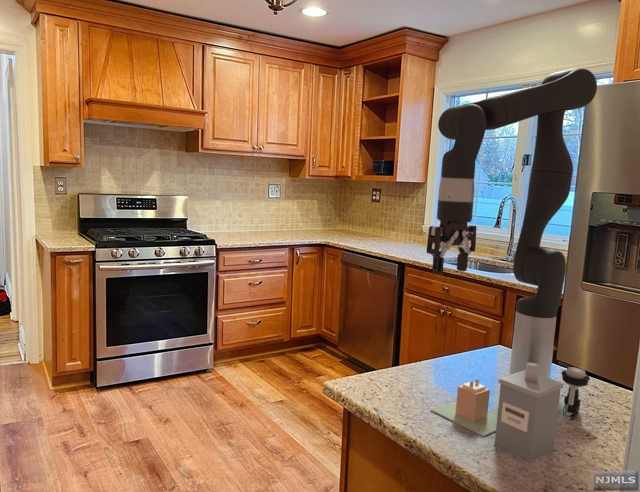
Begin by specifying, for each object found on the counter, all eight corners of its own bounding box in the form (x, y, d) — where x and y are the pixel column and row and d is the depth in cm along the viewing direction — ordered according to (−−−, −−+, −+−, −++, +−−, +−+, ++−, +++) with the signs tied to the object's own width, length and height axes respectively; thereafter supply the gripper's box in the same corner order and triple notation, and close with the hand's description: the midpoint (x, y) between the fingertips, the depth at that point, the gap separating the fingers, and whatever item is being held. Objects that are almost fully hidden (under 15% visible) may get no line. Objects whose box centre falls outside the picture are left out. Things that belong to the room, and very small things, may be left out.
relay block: (468, 409, 110) (472, 374, 109) (487, 417, 107) (490, 382, 106) (455, 414, 107) (458, 378, 106) (473, 422, 104) (477, 386, 103)
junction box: (518, 433, 101) (526, 354, 99) (555, 450, 95) (565, 367, 93) (491, 445, 96) (500, 362, 94) (529, 464, 90) (539, 376, 88)
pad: (460, 400, 115) (460, 399, 115) (513, 424, 105) (513, 422, 105) (430, 410, 109) (430, 409, 109) (483, 436, 99) (483, 435, 99)
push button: (580, 426, 106) (586, 379, 105) (552, 417, 109) (558, 372, 108) (586, 415, 111) (592, 370, 110) (559, 407, 114) (565, 363, 113)
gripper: (449, 200, 106) (443, 278, 109) (489, 200, 115) (483, 272, 118) (421, 198, 112) (415, 272, 114) (461, 198, 121) (455, 267, 123)
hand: (449, 272), depth 116 cm, fingers open, 8 cm apart
